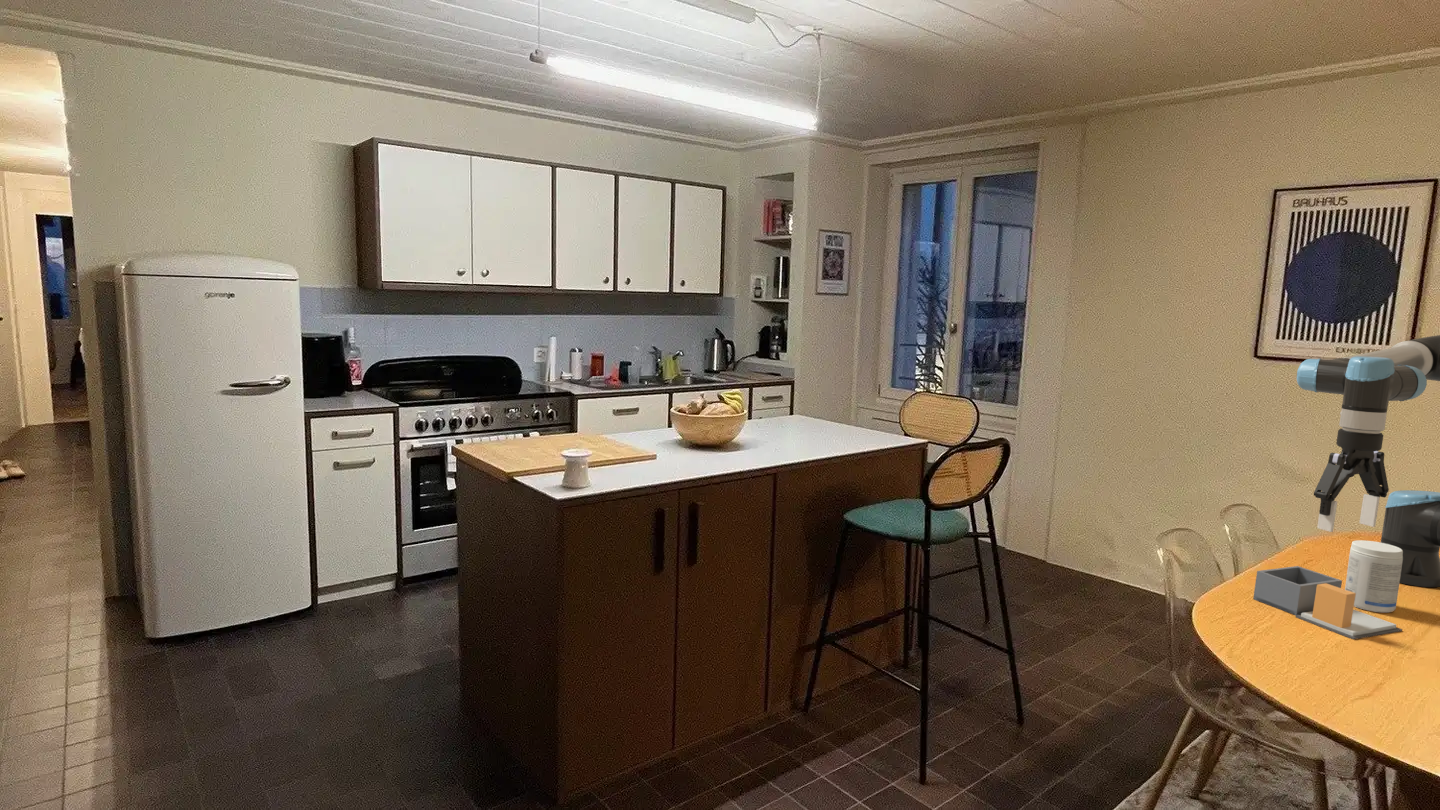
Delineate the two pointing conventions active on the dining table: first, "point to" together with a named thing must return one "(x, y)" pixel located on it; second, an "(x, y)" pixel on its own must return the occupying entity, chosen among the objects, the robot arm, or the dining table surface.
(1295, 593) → the box
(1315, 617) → the lid
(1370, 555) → the supplement tub
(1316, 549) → the dining table surface
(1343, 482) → the robot arm
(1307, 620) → the mat
